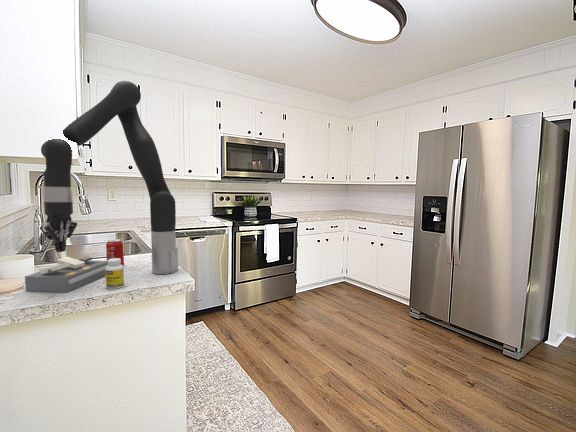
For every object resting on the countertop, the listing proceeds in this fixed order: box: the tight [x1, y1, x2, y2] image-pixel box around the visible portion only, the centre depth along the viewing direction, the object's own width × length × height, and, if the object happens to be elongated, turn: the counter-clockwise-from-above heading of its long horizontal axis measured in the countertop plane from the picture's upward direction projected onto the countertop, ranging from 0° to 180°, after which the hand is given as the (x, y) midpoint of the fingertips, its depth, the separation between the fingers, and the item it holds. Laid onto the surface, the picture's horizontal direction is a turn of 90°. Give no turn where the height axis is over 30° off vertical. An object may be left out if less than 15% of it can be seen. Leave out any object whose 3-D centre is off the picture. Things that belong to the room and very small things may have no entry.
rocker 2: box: [56, 256, 85, 269], centre depth 107 cm, size 7×4×2 cm, turn 87°
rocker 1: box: [38, 262, 70, 274], centre depth 100 cm, size 7×4×2 cm, turn 87°
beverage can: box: [105, 238, 125, 266], centre depth 126 cm, size 6×6×12 cm
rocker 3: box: [76, 251, 98, 262], centre depth 114 cm, size 7×4×2 cm, turn 86°
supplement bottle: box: [105, 258, 125, 290], centre depth 103 cm, size 5×5×10 cm
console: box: [24, 260, 109, 294], centre depth 108 cm, size 15×22×5 cm, turn 177°
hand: (60, 251), depth 100 cm, fingers closed
